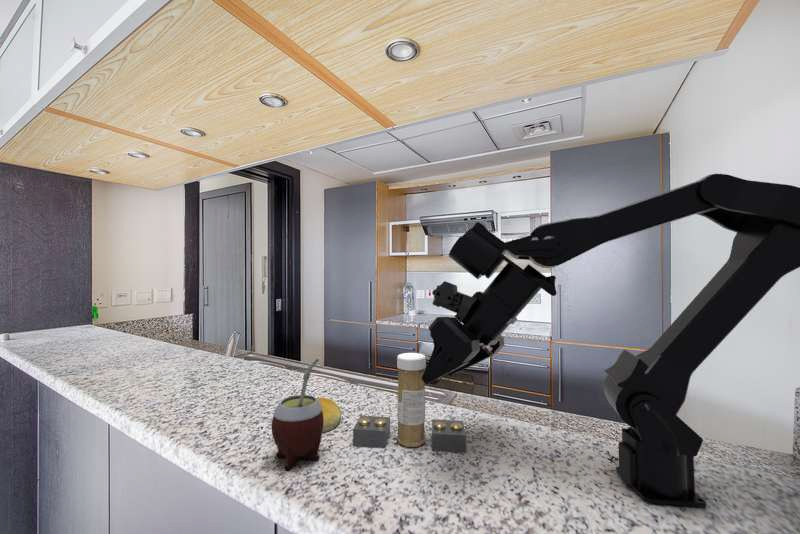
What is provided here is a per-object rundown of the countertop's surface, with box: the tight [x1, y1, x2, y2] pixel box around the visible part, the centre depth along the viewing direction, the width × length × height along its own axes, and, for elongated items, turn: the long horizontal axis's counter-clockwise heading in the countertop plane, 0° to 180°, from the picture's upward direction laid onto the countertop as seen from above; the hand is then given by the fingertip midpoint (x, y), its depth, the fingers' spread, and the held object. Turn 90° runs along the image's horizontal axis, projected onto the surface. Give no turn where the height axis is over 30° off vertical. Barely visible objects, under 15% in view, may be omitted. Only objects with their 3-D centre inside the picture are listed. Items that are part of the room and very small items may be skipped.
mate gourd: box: [271, 358, 324, 472], centre depth 46 cm, size 8×8×15 cm
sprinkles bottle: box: [396, 352, 427, 448], centre depth 51 cm, size 5×5×13 cm
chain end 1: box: [352, 415, 391, 449], centre depth 51 cm, size 5×5×3 cm
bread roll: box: [315, 397, 342, 434], centre depth 57 cm, size 8×9×4 cm
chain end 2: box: [431, 418, 467, 454], centre depth 50 cm, size 5×5×3 cm
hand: (437, 377), depth 50 cm, fingers open, 9 cm apart
